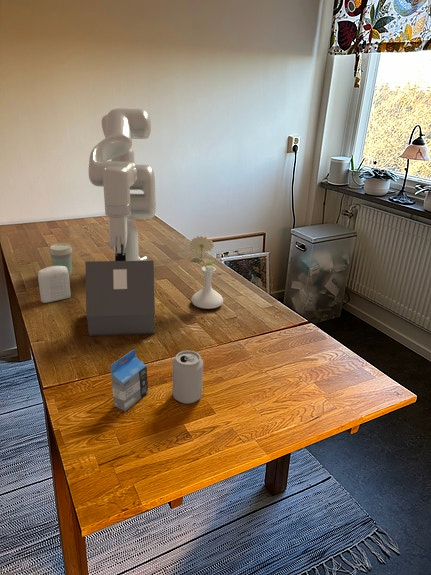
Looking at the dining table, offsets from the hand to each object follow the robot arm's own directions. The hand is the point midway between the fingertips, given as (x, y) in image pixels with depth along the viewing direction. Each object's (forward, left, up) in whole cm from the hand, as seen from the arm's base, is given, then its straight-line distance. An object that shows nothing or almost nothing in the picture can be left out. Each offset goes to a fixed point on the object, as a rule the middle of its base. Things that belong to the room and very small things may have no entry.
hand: (120, 265), depth 143 cm
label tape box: (+28, +33, -19) cm, 47 cm away
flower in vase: (-25, +15, -19) cm, 35 cm away
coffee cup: (-7, -42, -19) cm, 47 cm away
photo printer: (+7, -27, -19) cm, 34 cm away
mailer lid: (+5, +5, -4) cm, 9 cm away
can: (+18, +43, -19) cm, 50 cm away
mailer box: (+3, +3, -18) cm, 19 cm away
